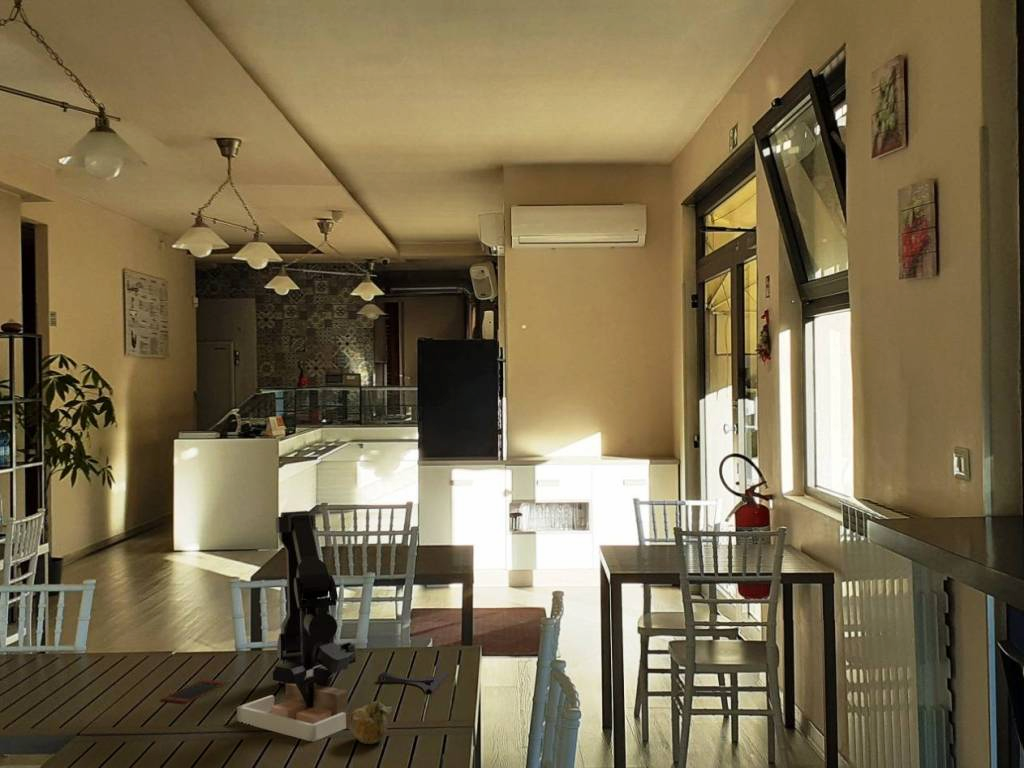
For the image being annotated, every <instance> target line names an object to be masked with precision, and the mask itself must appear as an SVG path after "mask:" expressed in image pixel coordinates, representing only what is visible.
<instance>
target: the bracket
mask: <svg viewBox="0 0 1024 768" xmlns="http://www.w3.org/2000/svg"><path fill="white" fill-rule="evenodd" d="M439 674H440V675H439ZM439 674H437V675H439V676H436V675H434V676H429V677H424V678H408V677H402V676H398V675H395V674H391V673H389V672H386V671H385V672H384V671H382V672H381V673H379V674H378V677H377V682H378V683H382V682H390V683H389V684H392V683H391V682H394V683H393V684H396V683H395V682H398V683H397V684H406V685H407V684H408V685H412V684H413V685H412V686H415V685H417V686H416V687H418V686H419V687H418V688H420V687H421V688H422V689H423V690H424V691H423V690H422V689H421V688H420V689H421V690H422V691H423V693H424V692H425V694H427V693H426V692H428V691H429V692H430V694H431V693H432V694H433V693H434V692H435V691H436V690H437V689H438V688H439V686H440V685H441V684H442V683H443V682H444V680H445V679H446V678H447V677H448V676H449V671H448V670H446V669H444V670H442V671H441V672H440V673H439ZM447 675H448V676H447ZM446 676H447V677H446ZM445 677H446V678H445ZM383 679H384V680H383ZM442 681H443V682H442ZM441 682H442V683H441ZM425 683H432V684H425ZM440 683H441V684H440ZM439 684H440V685H439ZM437 687H438V688H437ZM436 688H437V689H436ZM435 689H436V690H435ZM434 690H435V691H434ZM429 692H428V693H429Z"/></svg>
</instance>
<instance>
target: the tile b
mask: <svg viewBox="0 0 1024 768" xmlns="http://www.w3.org/2000/svg"><path fill="white" fill-rule="evenodd" d="M329 717H332V711H331V710H327V709H323V708H318V707H312V708H309V709H306V710H304V711H301V712H299V713H296V720H299V721H303V722H307V723H311V724H314V723H317V722H319V721H322V720H324V719H327V718H329Z"/></svg>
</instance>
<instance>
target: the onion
mask: <svg viewBox="0 0 1024 768" xmlns="http://www.w3.org/2000/svg"><path fill="white" fill-rule="evenodd" d="M393 710H394V709H393V707H392V706H385V705H384V704H382V703H381V702H379V701H369V703H368V704H366V705H362V706H360V707H359V708H357V709H354V710H353V711H352V712H351V713H350V715H349V718H348V723H347V726H348V729H349V732H350V733H351V734H352V735H353V737H354V738H355V739H356V740H358V741H359V742H360V743H362V744H366V745H373V744H376V743H379V742H381V740H382V739H383V738H384V736H385V735H386V733H387V730H388V726H389V724H388V720H387V717H386V715H391V714H392V712H393ZM384 714H385V715H384Z"/></svg>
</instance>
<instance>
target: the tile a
mask: <svg viewBox="0 0 1024 768" xmlns="http://www.w3.org/2000/svg"><path fill="white" fill-rule="evenodd" d="M304 710H306V704H303V703H299V702H294V701H290V700H288V701H286V700H285V701H283V702H281V703H278V704H277V703H276V704H274V706H272V707H271V711H270V713H272V714H276V715H280V716H284V717H288V718H291V719H296V713H299V712H301V711H304Z"/></svg>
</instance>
